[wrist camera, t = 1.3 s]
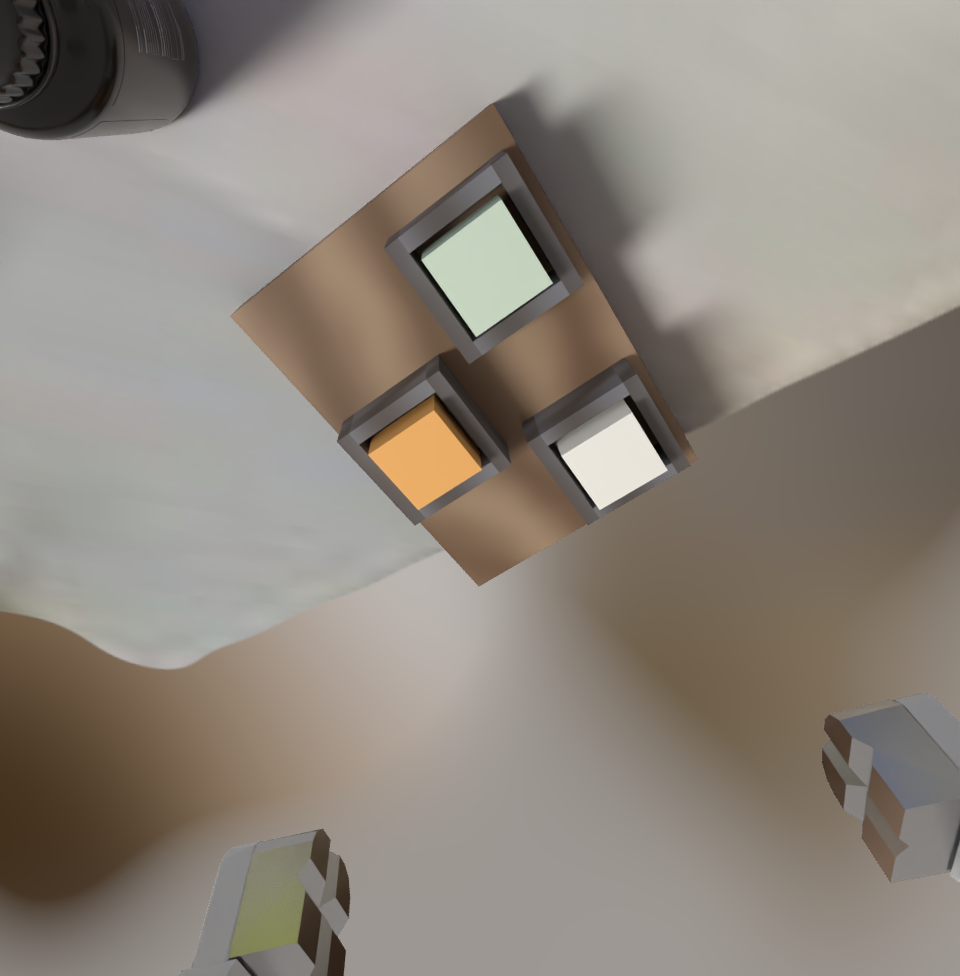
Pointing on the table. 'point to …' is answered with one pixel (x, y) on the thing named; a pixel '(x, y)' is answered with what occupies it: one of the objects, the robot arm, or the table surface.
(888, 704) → the robot arm
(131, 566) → the table surface
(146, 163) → the table surface
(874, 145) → the table surface
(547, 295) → the button panel
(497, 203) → the sage button
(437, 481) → the orange button
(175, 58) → the supplement bottle
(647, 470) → the cream button
